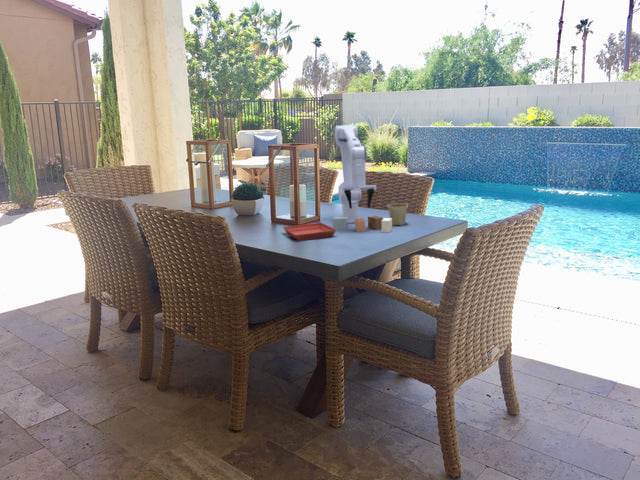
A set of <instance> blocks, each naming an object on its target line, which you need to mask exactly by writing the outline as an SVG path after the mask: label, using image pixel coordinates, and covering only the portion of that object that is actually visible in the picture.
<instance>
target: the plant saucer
mask: <svg viewBox="0 0 640 480" xmlns="http://www.w3.org/2000/svg"><path fill="white" fill-rule="evenodd" d="M282 229H283V230H284V231H285V233H287V235H289V236H290V237H292V238H294V239H295V240H296V241H306V240H315V239H322V238H331V237H333V235H334V234H335V233H336V231H337V230H336V229H334V228H333V227H331V226H330V225H327V224H326V223H323V222H316V223H315V222H314V223H307V224H306V223H305V224H299V225H289V226H288V225H287V226H282Z"/></svg>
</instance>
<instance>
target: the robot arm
mask: <svg viewBox="0 0 640 480" xmlns="http://www.w3.org/2000/svg"><path fill="white" fill-rule="evenodd" d="M358 133H359V130H358V126H357V124H348V125H335V127H334V138H335V140H334V141H335V145H336V146H338V147H339V150H340V156H341V157H340V158H341V164H342V165H341V166H342V176H343V177H342V178H343V181H342V183H340V184H339V186H338V200H339V202H340V203H342V206H341V207H342V217H347V219H348V224H349V223H355V218H359V203H360V201H361V200H362V191H366V195H367V201H366V202H367V204H366V205H367V208H371V202H372V199H373V196H374V194H375V191H377V184H371V185H366V184H367V183H366V181H367V180H366V160H367V156H368V155H367V148H366V145H362V143H361V141H360V139H359V138H358V135H359V134H358Z"/></svg>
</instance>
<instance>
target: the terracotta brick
mask: <svg viewBox="0 0 640 480" xmlns="http://www.w3.org/2000/svg"><path fill="white" fill-rule="evenodd" d="M354 223H355V224H354V226H355V227H354V228H355V232H356V233H366V220H365V218H364V217H358V218H355V222H354Z"/></svg>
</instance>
